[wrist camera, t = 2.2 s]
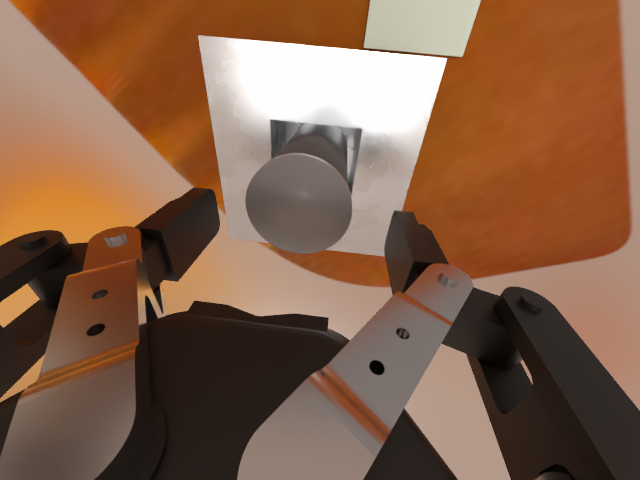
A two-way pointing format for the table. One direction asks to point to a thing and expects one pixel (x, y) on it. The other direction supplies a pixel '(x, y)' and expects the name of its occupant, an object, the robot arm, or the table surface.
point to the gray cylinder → (303, 192)
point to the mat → (420, 26)
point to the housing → (320, 121)
